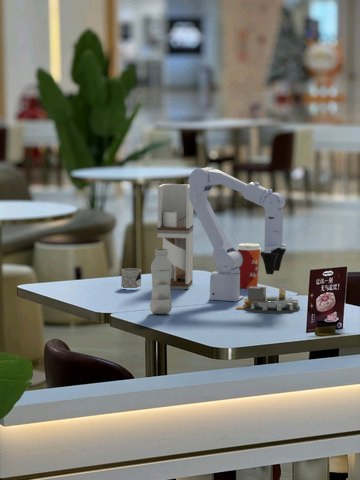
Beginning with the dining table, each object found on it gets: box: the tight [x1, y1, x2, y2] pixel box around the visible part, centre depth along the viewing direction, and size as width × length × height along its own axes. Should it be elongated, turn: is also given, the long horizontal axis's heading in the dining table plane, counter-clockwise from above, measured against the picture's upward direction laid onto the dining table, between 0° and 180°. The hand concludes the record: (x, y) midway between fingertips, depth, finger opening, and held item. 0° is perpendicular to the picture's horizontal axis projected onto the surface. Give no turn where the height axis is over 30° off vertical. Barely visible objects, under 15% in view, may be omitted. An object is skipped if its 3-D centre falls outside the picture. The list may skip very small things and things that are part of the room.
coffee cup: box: [236, 242, 262, 290], centre depth 423 cm, size 8×8×15 cm
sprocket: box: [244, 288, 299, 311], centre depth 387 cm, size 17×17×5 cm
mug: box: [121, 267, 142, 288], centre depth 421 cm, size 10×7×7 cm
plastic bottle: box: [149, 247, 173, 315], centre depth 374 cm, size 6×7×20 cm
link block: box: [247, 286, 267, 301], centre depth 385 cm, size 5×3×4 cm, turn 71°
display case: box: [157, 183, 194, 290], centre depth 422 cm, size 11×11×35 cm
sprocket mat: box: [235, 303, 301, 315], centre depth 387 cm, size 19×18×1 cm
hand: (272, 272), depth 395 cm, fingers open, 7 cm apart
